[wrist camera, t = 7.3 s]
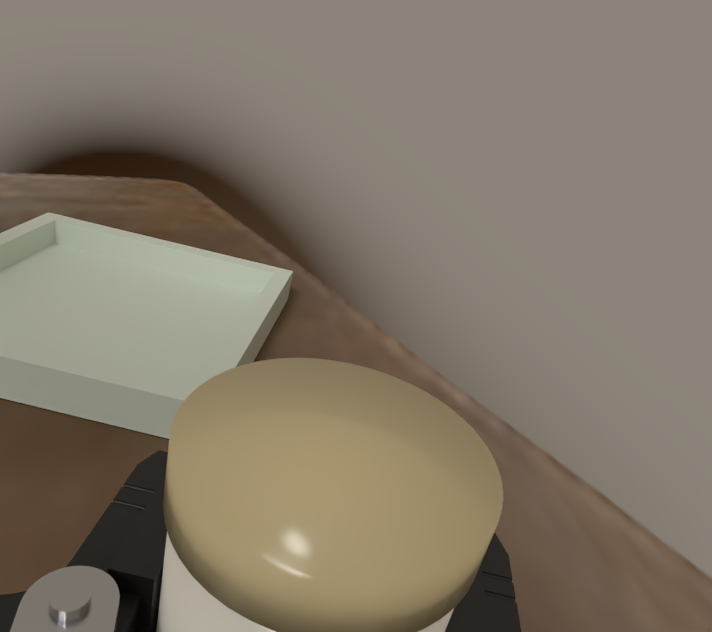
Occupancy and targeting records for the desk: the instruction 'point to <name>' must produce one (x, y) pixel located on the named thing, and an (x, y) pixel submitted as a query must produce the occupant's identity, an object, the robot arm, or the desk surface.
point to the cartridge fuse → (321, 503)
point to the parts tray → (124, 320)
